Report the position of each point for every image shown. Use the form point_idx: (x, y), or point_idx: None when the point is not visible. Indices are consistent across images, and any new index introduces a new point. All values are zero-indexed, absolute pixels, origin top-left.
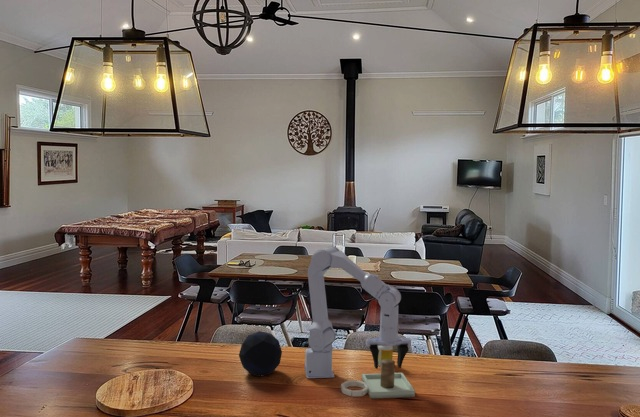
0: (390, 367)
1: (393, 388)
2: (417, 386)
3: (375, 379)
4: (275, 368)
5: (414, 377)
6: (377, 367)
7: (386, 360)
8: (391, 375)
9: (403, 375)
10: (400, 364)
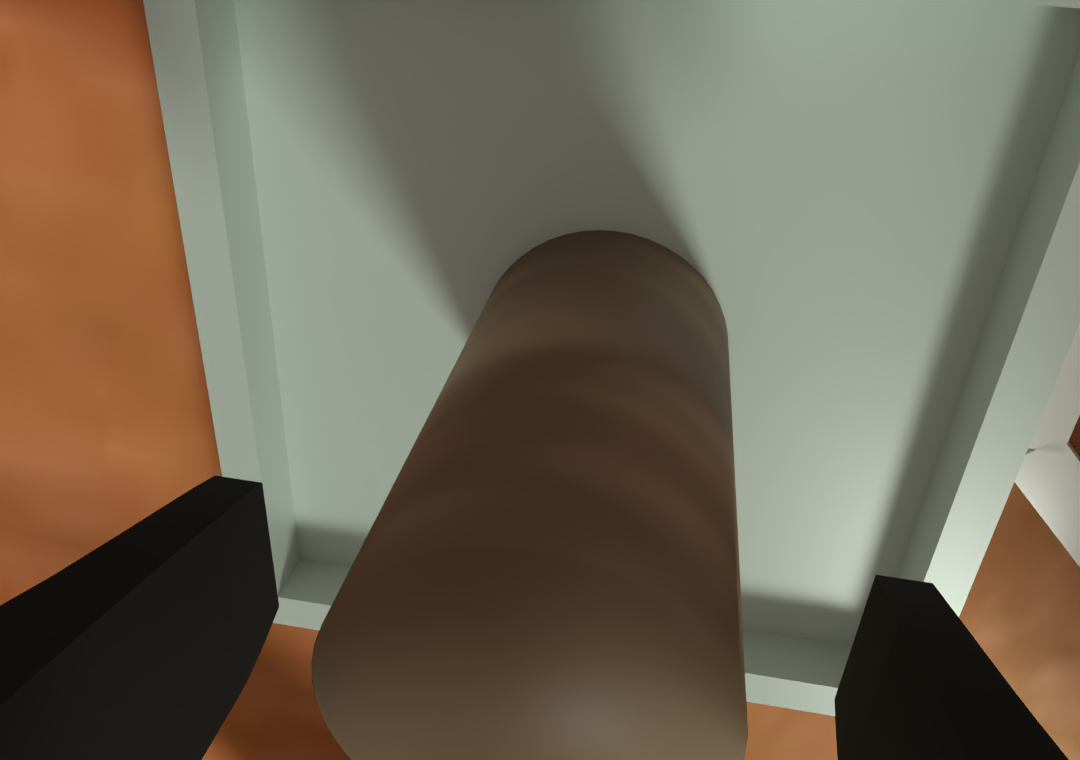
0: (520, 473)
1: (527, 214)
2: (99, 284)
3: None
4: None
5: None
6: (899, 596)
7: None
8: (523, 352)
9: None
10: (171, 527)
